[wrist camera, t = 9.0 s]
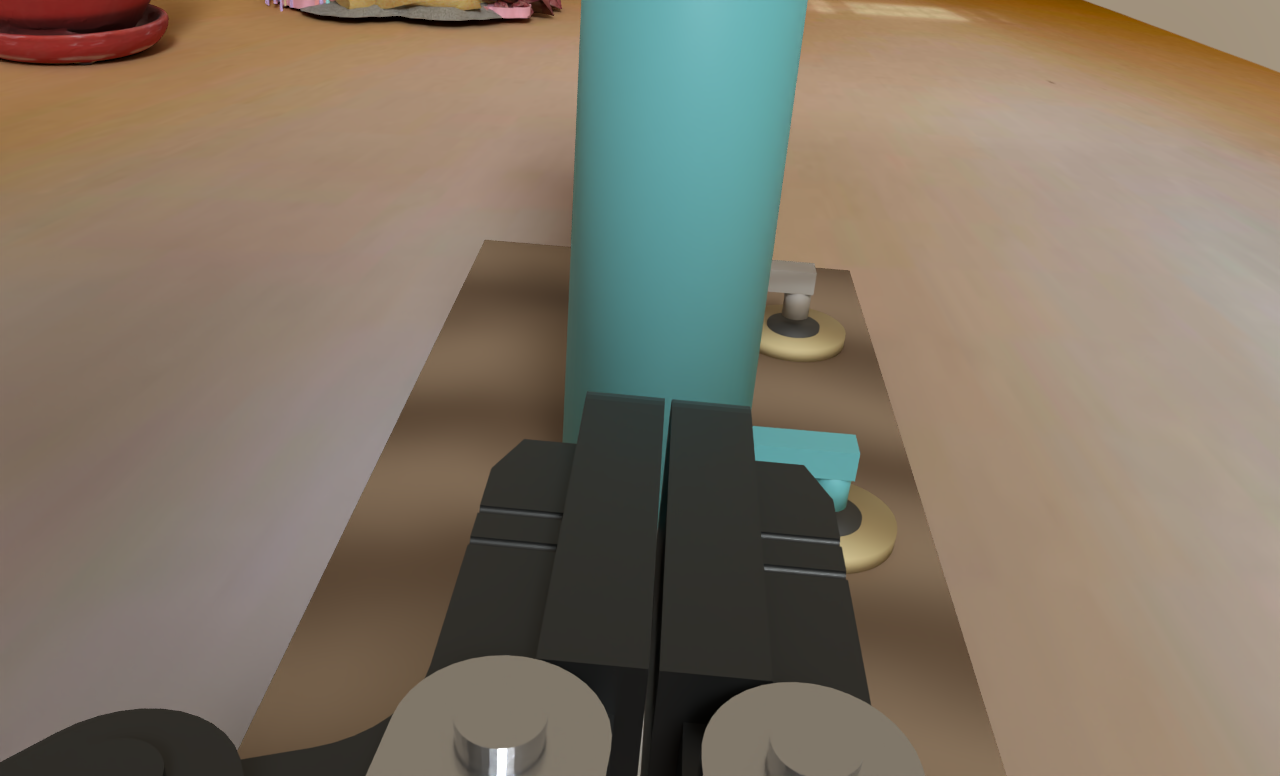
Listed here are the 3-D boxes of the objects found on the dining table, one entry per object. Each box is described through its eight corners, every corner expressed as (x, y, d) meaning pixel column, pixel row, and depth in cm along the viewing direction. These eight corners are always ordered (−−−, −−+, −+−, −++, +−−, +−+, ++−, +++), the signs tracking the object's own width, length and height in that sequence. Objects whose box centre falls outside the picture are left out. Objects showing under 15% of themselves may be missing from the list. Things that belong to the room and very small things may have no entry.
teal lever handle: (857, 558, 23) (1054, -401, 15) (550, 531, 23) (587, -437, 15) (836, 456, 26) (987, -363, 18) (570, 433, 26) (609, -393, 19)
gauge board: (1026, 1027, 17) (1649, -529, 8) (197, 952, 17) (-117, -665, 8) (840, 321, 40) (946, -290, 31) (484, 291, 40) (486, -327, 31)
